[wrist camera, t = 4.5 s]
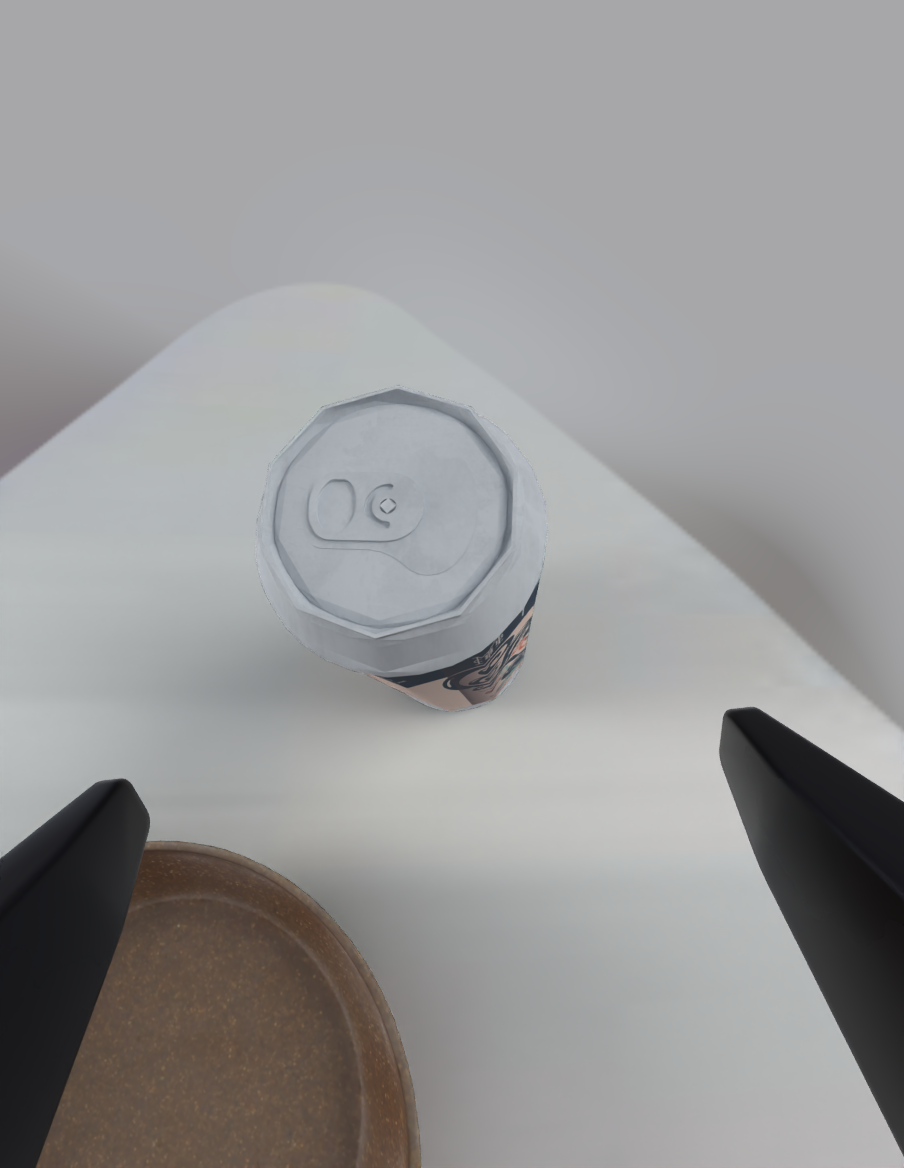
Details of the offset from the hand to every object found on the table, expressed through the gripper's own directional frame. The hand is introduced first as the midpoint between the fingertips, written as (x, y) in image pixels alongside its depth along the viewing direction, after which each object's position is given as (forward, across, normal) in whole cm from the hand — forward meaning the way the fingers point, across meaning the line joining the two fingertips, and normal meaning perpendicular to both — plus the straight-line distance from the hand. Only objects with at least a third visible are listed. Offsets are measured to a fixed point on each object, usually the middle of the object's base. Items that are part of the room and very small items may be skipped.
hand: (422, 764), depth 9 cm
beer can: (+10, 0, +5) cm, 11 cm away
